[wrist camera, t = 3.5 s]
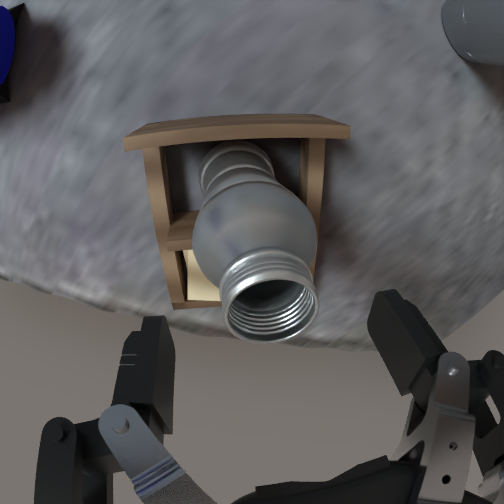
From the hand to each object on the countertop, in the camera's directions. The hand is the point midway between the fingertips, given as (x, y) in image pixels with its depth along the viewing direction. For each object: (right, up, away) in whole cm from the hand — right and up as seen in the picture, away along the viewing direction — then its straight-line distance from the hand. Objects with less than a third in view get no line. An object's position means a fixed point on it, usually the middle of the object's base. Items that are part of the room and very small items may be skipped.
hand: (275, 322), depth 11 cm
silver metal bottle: (-3, +11, +17) cm, 21 cm away
